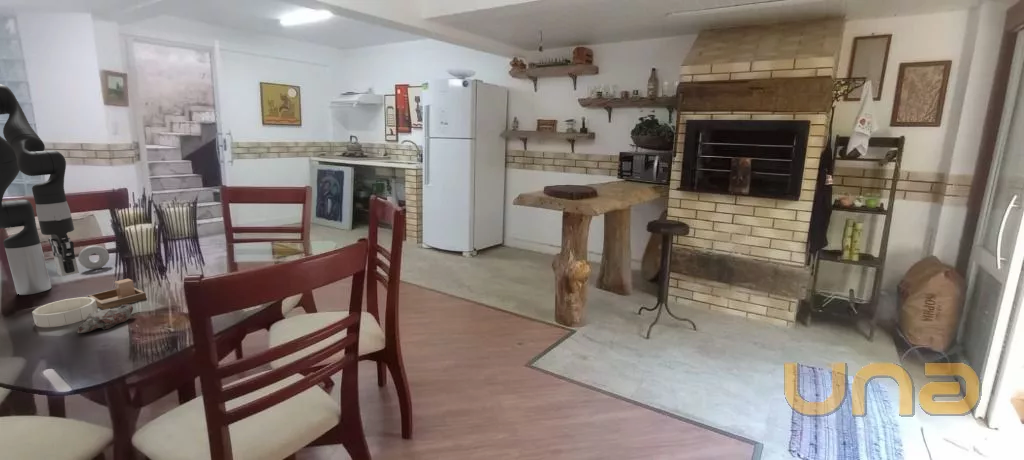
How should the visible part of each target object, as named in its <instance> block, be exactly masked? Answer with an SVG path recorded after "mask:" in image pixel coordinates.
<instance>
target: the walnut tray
mask: <svg viewBox="0 0 1024 460" xmlns="http://www.w3.org/2000/svg"><path fill="white" fill-rule="evenodd" d="M134 289H135V294H136V295H132V296H128V297H124V298H120V299H119V298H118V296H117V292H116V288H114V289H109V290H105V291H104V290H103V291H101V292H97V293H93V294H88V295H87V297H91V298H93V299H95V300H96V304H97V308H99V309H101V310H105V309H114V308H118V307H120V306H122V305H124V304H130V303H131V304H132V303H135V302H139V301H144V300H146V299H147V294H146V292H144V291H143V290H140V289H139V288H137V287H135V286H134Z"/></svg>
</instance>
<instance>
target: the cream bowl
mask: <svg viewBox="0 0 1024 460" xmlns="http://www.w3.org/2000/svg"><path fill="white" fill-rule="evenodd" d="M98 308H99V307H97V304H96V300H95V299H93V298H91V297H88V296H87V297H84V296H82V297H81V296H80V297H74V298H73V297H72V298H66V299H61V300H57V301H53V302H49V303H46V304H44V305H41V306H38V307H36V308H35V309H33V311H31V314H32V317H33V318H32V319H33V321H34V324H35V325H36V327H39V328H55V327H62V326H68V325H71V324H76V323H79V322H81V321H85V320H86V319H87V317H88V315H89V314H90V313H96V312H98V311H99V309H98Z"/></svg>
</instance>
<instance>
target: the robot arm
mask: <svg viewBox="0 0 1024 460" xmlns="http://www.w3.org/2000/svg"><path fill="white" fill-rule="evenodd" d="M1 115H9V116H8V118H7V120H6V122H5V124H4V126H3V130H2V133H3V134H2V135H3V137H2V136H1V135H0V229H2V230H3V229H10V228H19V227H23V229H22V230H20V231H19V232H17V233H15V234H14V235H11V236H8V237H7V238H5V239H4V240H3V243H2V244H3V245H4V246H3V247H4V250H5V253H6V257H7V261H8V265H9V269H10V273H11V276H12V277H11V278H12V280H13V284H14V289H15V291H16V294H17V295H18V294H19V296H27V295H34V294H39V293H42V292H46V291H49V290H50V289H51V288H52V283H51V280H50V276H49V272H48V268H47V264H46V260H45V256H44V251H43V248H42V243H41V240H40V236H39V233H38V227H37V222H38V225H39V229H40V233H41V234H42V235H44V236H50V237H49V238H47V239H48V240H47V241H48V242H49V246H50V248H51V251H52V255H53V257H54V256H55V255H60V256H61V259H62V261H63V265H64V270H65V272H66V273H71V272H74V271H75V269H74V265H73V259H75V258H76V256H75V247H74V246H75V245H74V241H72V239H71V238H70V237H69V236H68V233H71V232H73V231H74V230H75V227H74V221H73V218H72V213H71V210H70V206H69V204H68V200H67V197H66V194H65V193H66V192H65V176H66V175H65V174H66V168H67V161H66V159H65V157H64V155H63V154H62V153H61V152H60V151H57V150H46V147H45V144H44V142H43V140H42V139H41V138H40V137H39V135H38V134H37V132H36V131H35V130H34V129H33V128H32V126H31V125H30V123H29V121H28V118H27V117H26V115H25V113H24V111H23V109H22V106H21V104H20V103H19V101H18V99H17V98H16V95H15V94H14V92H13V90H12V89H10V88H9V87H8V86H7V85H5V84H3V83H2V84H1V83H0V116H1ZM19 173H22V174H23V175H26V176H29V177H36V176H37V177H38V176H48V175H50V176H49V177H48V179H47V180H45V181H44V182H39V183H36V184H34V185H33V186H32V187H31V190H32V196H33V199H34V204H35V209H34V206H33V204H32V203H31V201H30V200H28V199H15V200H6V201H3V198H4V196H5V193H6V191H7V189H8V188H9V187H10V185H12V183H13V182H14V180H15V179H16V178H17V176H18V175H19ZM34 211H35V212H36V216H37V220H38V221H37V222H36V216H35V212H34ZM66 254H69V256H66Z"/></svg>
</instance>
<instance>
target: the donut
mask: <svg viewBox="0 0 1024 460" xmlns="http://www.w3.org/2000/svg"><path fill="white" fill-rule="evenodd" d="M93 254H97V255H98V259H97V260H94V261H93V260H91V259H90V256H91V255H93ZM109 260H110V253H109V251H108V250H107V249H106V248H105V247H104V246H101V245H89V246H86V247H84V248H83V249H81V251H80V252H79V253H78V262H79V265H81V266H82V267H83V268H85V269H86V270H87V269H88V270H98V269H101V268H103V267H104V266H106V265H107V264H108V262H109Z"/></svg>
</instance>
